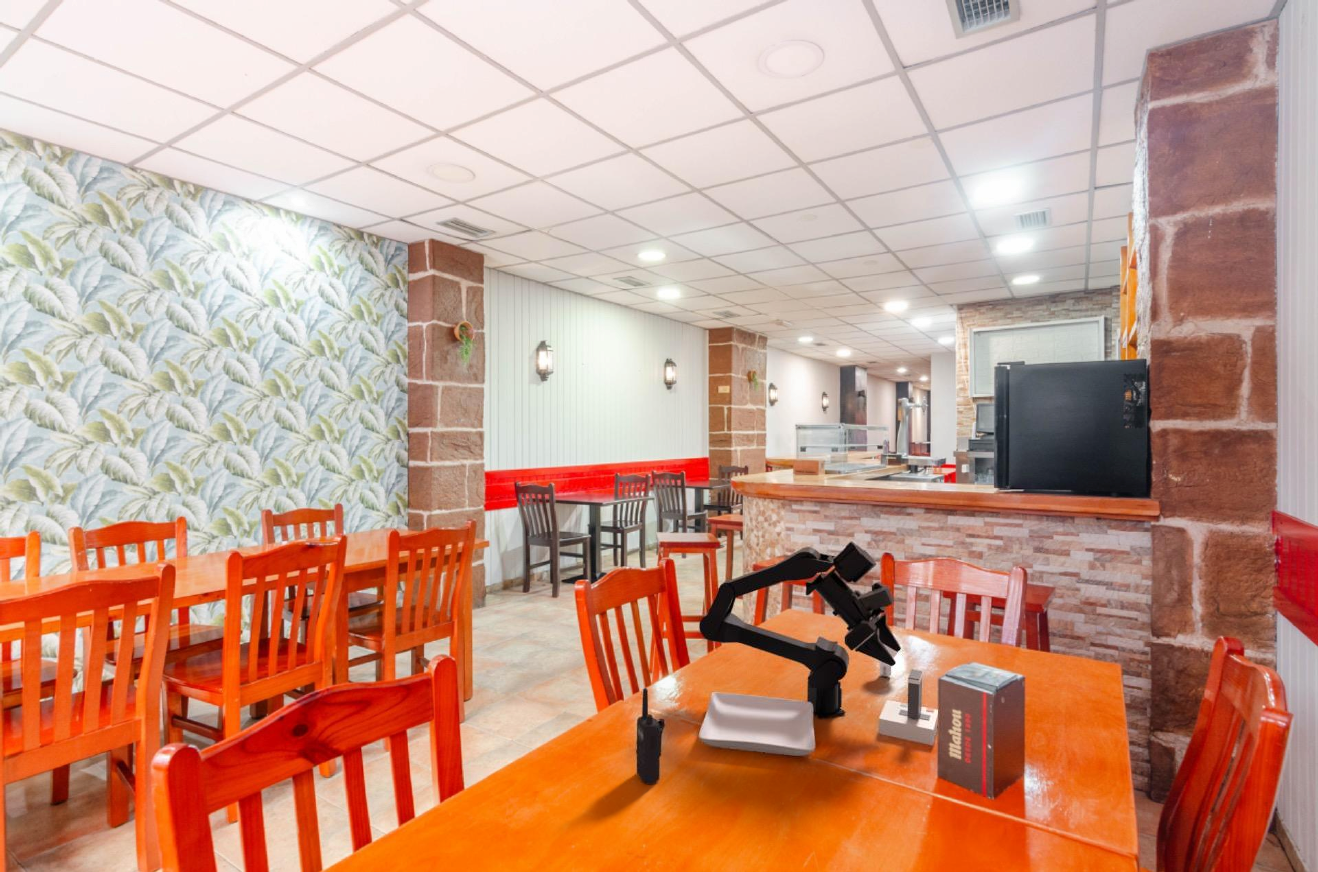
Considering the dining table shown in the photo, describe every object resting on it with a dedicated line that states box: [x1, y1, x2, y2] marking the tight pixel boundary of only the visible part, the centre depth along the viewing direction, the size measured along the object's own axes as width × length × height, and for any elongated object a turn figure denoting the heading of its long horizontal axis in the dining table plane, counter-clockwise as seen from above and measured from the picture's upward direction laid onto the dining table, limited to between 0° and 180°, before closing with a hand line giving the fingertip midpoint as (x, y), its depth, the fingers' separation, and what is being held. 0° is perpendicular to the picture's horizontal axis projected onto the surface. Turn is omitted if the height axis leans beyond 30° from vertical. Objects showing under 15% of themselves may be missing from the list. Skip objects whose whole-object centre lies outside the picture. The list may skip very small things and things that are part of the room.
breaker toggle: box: [907, 669, 923, 719], centre depth 133 cm, size 2×5×8 cm, turn 152°
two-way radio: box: [635, 687, 666, 785], centre depth 114 cm, size 6×4×15 cm
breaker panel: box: [877, 699, 939, 746], centre depth 133 cm, size 10×10×3 cm
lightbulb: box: [877, 632, 901, 678], centre depth 161 cm, size 6×6×11 cm
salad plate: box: [698, 691, 816, 757], centre depth 131 cm, size 21×21×3 cm
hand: (896, 657), depth 135 cm, fingers open, 9 cm apart
